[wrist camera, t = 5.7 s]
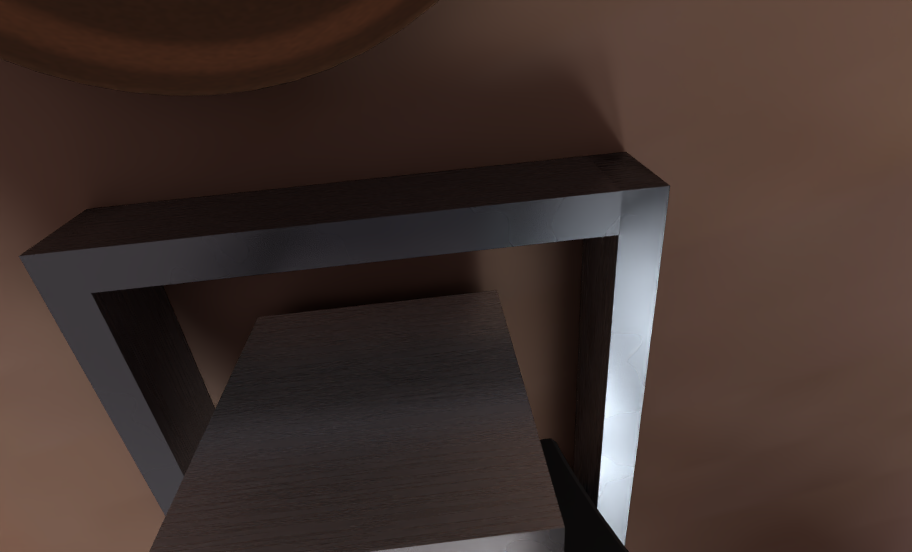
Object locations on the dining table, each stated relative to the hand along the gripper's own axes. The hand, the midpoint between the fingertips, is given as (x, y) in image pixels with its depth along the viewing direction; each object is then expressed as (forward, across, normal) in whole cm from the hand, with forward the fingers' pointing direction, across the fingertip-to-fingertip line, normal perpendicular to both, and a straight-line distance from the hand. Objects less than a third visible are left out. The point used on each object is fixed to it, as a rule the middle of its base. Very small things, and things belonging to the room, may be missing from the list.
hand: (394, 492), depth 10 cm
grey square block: (+2, 0, 0) cm, 2 cm away
